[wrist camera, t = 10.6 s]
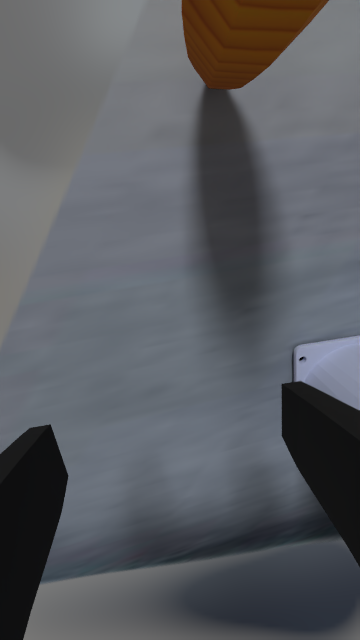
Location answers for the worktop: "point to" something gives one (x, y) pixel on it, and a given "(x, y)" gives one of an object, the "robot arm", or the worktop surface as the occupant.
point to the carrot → (241, 36)
